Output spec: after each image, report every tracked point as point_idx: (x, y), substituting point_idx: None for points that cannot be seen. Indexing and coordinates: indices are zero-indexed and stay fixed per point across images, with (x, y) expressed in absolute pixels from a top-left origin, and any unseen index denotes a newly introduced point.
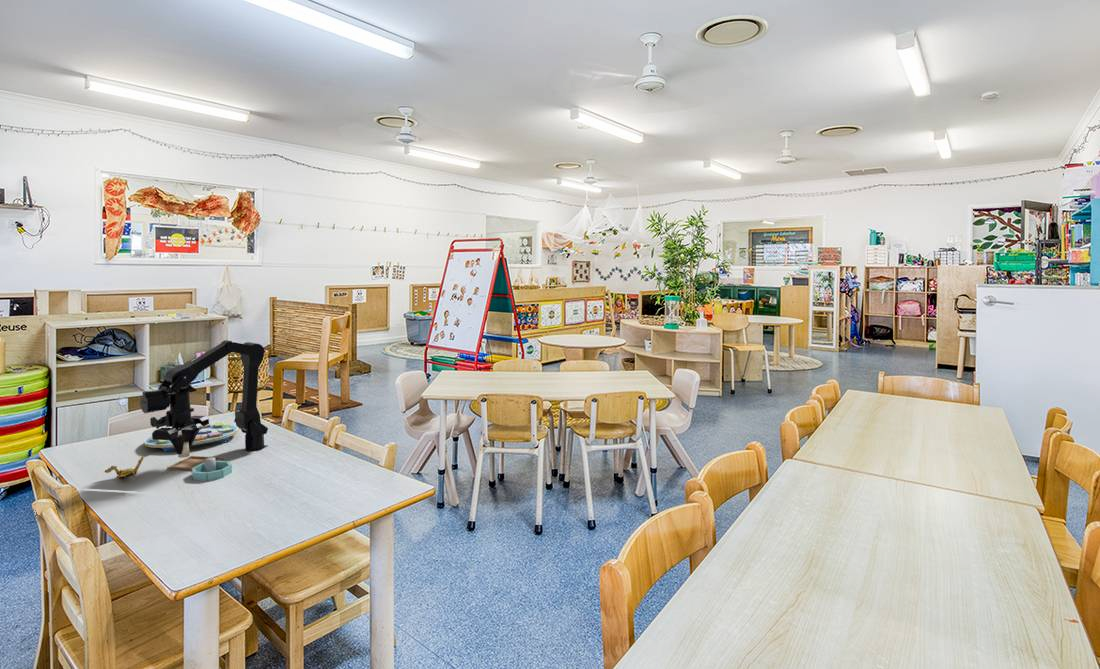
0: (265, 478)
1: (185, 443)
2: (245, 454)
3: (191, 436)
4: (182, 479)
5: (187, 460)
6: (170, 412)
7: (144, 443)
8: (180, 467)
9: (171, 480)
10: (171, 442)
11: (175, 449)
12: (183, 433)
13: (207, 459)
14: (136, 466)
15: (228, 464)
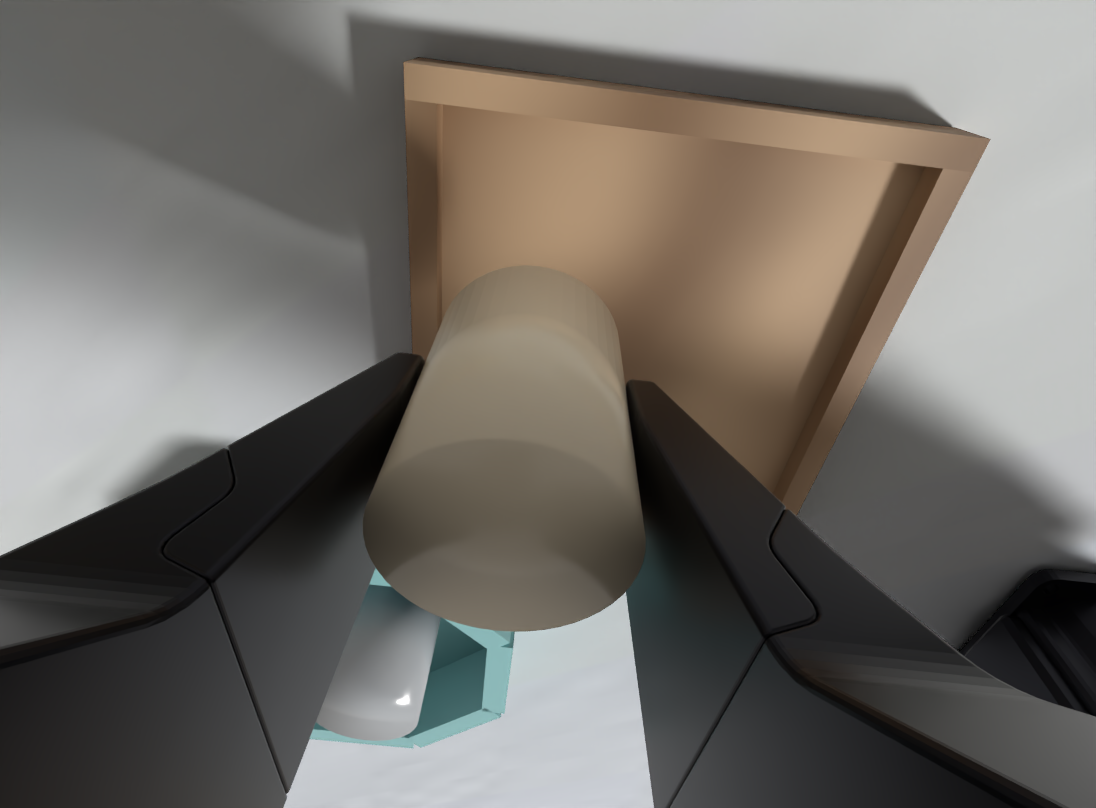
0: (398, 793)
1: (465, 611)
2: (927, 609)
3: (671, 785)
4: (224, 423)
5: (820, 155)
6: None
7: None
8: (430, 289)
9: (157, 337)
10: (97, 518)
11: (320, 400)
12: (800, 752)
13: (347, 702)
14: None
15: (431, 730)
